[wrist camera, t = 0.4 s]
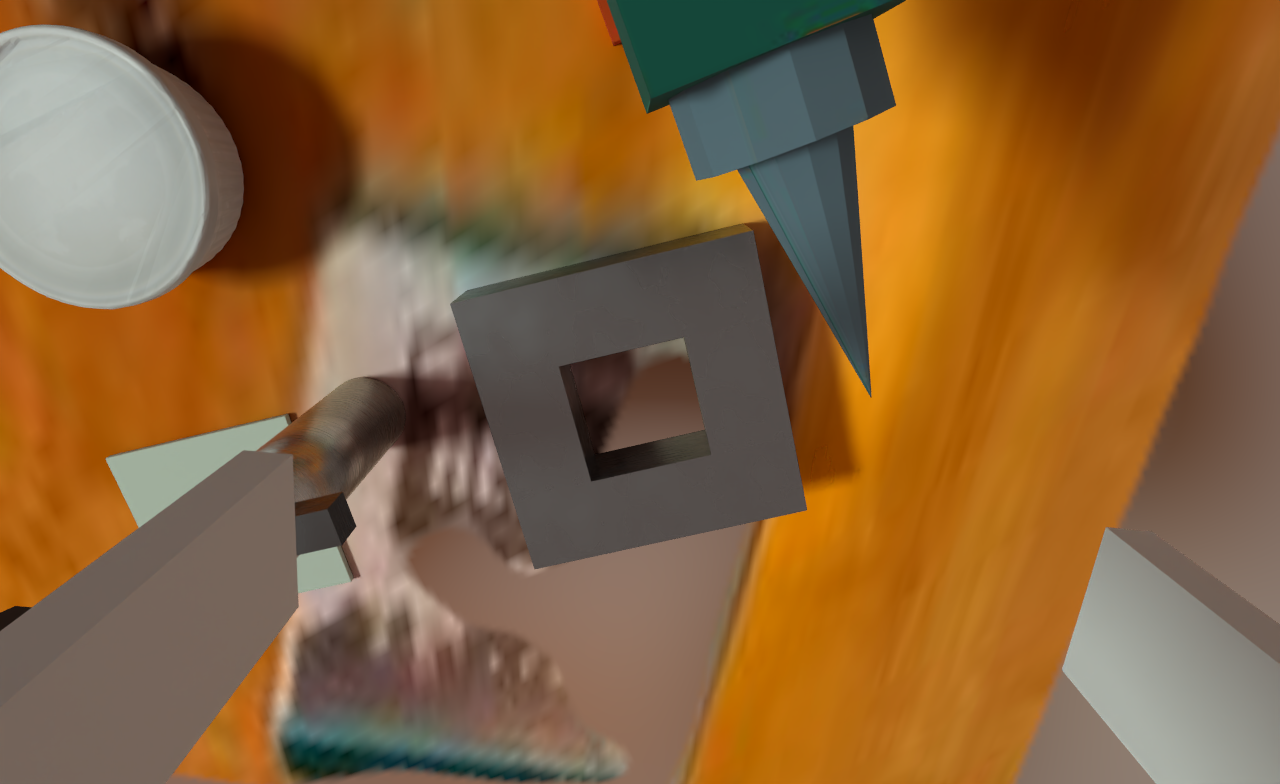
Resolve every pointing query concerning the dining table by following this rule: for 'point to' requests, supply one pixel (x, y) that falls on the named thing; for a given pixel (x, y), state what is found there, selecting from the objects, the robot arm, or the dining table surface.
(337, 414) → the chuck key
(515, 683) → the dining table surface
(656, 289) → the plate
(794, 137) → the power tool
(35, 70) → the ramekin
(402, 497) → the dining table surface
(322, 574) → the rubber mat
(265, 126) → the dining table surface
